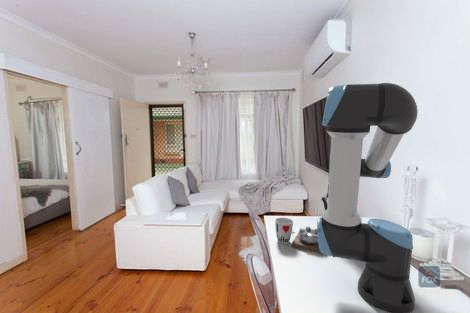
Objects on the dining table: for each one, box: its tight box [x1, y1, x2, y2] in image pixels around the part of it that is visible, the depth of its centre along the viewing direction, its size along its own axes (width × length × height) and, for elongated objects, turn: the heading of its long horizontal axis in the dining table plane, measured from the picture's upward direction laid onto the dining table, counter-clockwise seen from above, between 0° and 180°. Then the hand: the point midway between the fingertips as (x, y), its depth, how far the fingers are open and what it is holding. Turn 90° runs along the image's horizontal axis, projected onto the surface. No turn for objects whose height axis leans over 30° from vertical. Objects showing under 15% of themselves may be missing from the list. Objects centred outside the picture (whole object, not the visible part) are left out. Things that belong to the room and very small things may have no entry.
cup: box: [274, 217, 294, 245], centre depth 112 cm, size 8×8×10 cm
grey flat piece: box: [298, 226, 319, 246], centre depth 112 cm, size 20×11×4 cm, turn 122°
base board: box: [291, 232, 325, 256], centre depth 110 cm, size 14×14×2 cm
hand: (333, 232), depth 115 cm, fingers closed
